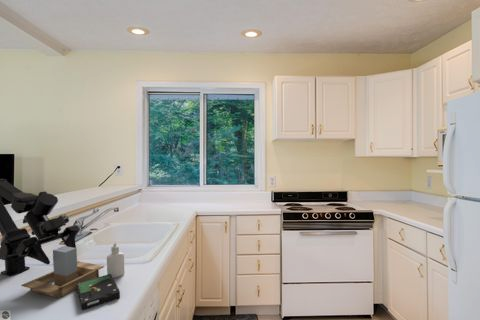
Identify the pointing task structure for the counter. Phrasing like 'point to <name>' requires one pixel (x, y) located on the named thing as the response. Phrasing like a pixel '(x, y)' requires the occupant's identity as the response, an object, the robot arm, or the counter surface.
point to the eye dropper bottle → (115, 262)
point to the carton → (43, 287)
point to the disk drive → (97, 291)
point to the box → (64, 265)
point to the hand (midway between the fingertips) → (63, 258)
